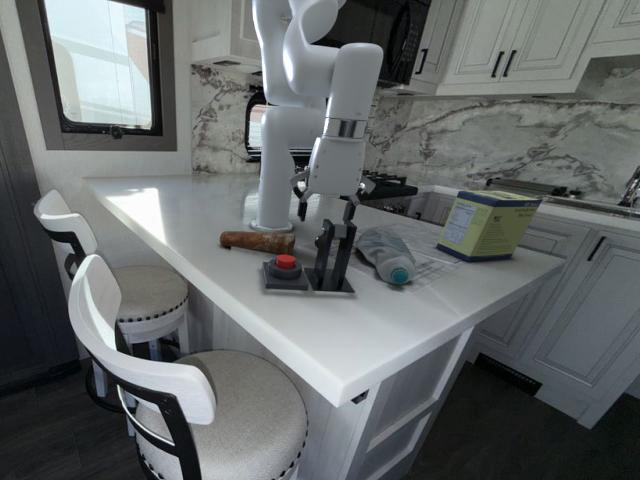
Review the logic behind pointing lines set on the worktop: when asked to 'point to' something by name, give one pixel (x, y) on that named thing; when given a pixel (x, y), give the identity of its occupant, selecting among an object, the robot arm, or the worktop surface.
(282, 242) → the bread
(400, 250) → the crushed plastic bottle
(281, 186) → the robot arm
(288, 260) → the button
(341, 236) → the lever
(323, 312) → the worktop surface
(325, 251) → the bracket
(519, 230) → the protein box
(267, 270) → the button block
